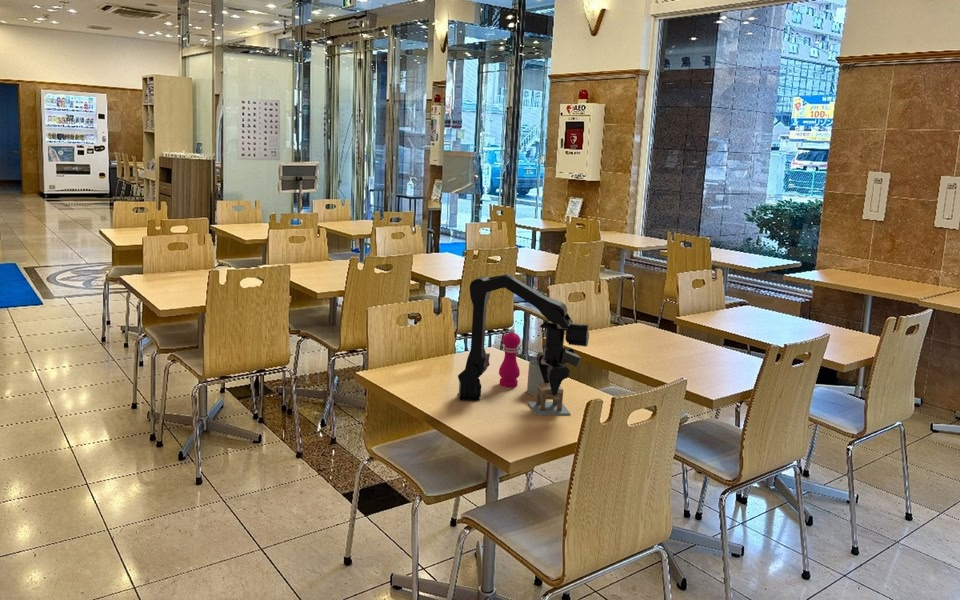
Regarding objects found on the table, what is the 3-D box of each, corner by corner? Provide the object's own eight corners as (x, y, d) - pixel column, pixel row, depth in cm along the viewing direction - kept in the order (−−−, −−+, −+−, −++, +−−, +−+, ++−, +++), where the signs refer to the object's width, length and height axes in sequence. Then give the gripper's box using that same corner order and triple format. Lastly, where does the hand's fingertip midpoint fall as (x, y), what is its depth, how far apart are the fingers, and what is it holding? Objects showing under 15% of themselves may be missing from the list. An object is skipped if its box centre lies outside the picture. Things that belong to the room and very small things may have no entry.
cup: (536, 397, 256) (538, 368, 254) (521, 390, 263) (523, 361, 261) (556, 394, 261) (558, 365, 259) (541, 387, 267) (543, 359, 265)
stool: (541, 410, 241) (542, 389, 240) (536, 403, 247) (537, 382, 246) (561, 410, 242) (563, 389, 241) (556, 403, 249) (557, 383, 247)
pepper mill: (498, 387, 264) (502, 330, 260) (497, 381, 271) (501, 325, 267) (519, 388, 264) (523, 331, 260) (518, 382, 271) (521, 326, 268)
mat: (535, 415, 239) (536, 413, 239) (527, 403, 249) (528, 401, 249) (570, 415, 241) (570, 413, 240) (561, 403, 251) (561, 401, 251)
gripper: (588, 350, 233) (583, 400, 236) (571, 335, 251) (567, 381, 254) (552, 350, 231) (548, 400, 234) (537, 335, 249) (534, 381, 252)
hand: (550, 390), depth 244 cm, fingers open, 9 cm apart
